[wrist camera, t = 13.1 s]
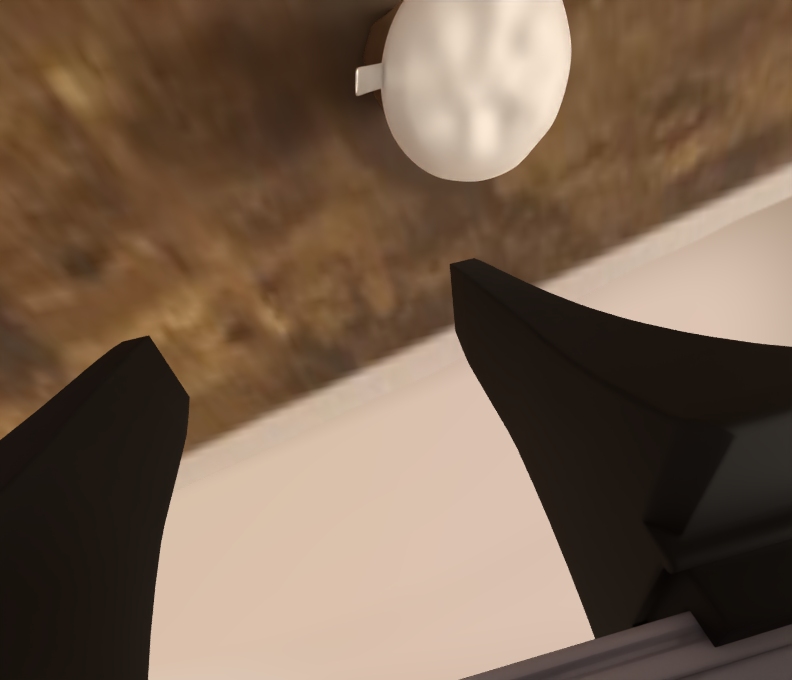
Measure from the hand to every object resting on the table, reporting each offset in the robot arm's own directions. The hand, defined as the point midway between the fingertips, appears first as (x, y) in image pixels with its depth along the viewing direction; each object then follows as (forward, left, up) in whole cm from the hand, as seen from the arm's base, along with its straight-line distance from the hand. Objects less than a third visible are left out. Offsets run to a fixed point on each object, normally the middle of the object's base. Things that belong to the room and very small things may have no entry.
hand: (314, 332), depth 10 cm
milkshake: (+5, +4, -11) cm, 12 cm away
